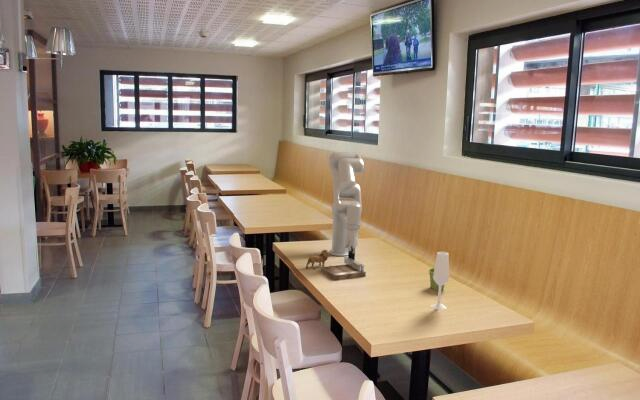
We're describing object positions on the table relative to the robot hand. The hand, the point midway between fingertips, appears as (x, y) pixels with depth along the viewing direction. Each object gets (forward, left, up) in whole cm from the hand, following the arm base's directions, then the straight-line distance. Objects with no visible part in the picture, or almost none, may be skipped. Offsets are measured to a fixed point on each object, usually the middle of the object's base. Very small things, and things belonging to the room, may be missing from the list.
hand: (351, 259), depth 273 cm
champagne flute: (-6, +65, -4) cm, 65 cm away
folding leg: (+3, +8, -1) cm, 9 cm away
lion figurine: (+17, -6, -4) cm, 19 cm away
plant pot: (-22, +45, -4) cm, 50 cm away
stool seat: (+10, +9, -4) cm, 14 cm away
